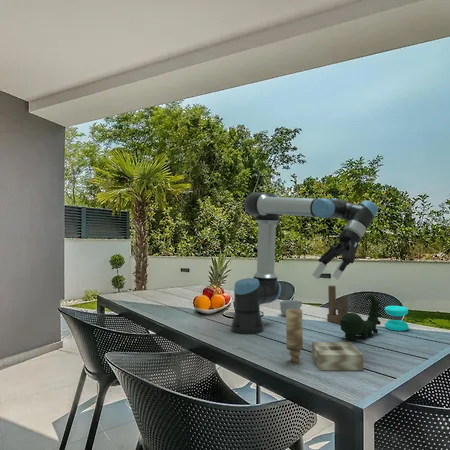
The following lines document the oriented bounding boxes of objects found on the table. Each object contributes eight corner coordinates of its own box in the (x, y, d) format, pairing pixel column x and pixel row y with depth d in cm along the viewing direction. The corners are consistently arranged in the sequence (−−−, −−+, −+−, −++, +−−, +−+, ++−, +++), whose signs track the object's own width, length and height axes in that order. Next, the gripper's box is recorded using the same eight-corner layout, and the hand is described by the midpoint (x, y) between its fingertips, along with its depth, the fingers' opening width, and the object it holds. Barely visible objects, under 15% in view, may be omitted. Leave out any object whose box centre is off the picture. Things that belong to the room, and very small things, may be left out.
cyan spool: (399, 304, 180) (412, 308, 170) (399, 325, 179) (413, 331, 170) (380, 305, 178) (392, 309, 168) (380, 326, 178) (393, 332, 168)
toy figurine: (367, 334, 171) (330, 338, 157) (368, 292, 172) (331, 293, 159) (386, 339, 163) (348, 344, 149) (387, 295, 164) (350, 296, 151)
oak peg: (287, 364, 129) (286, 311, 130) (285, 358, 135) (284, 308, 135) (304, 364, 129) (303, 311, 129) (301, 358, 135) (300, 308, 135)
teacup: (287, 318, 197) (286, 303, 197) (276, 314, 207) (276, 300, 207) (309, 316, 202) (308, 301, 203) (297, 312, 212) (297, 298, 212)
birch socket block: (320, 370, 123) (319, 354, 123) (312, 356, 137) (311, 342, 137) (363, 370, 123) (362, 354, 123) (350, 356, 137) (350, 342, 137)
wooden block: (343, 325, 181) (342, 288, 182) (327, 321, 191) (326, 285, 191) (348, 324, 183) (347, 287, 183) (332, 320, 192) (331, 285, 193)
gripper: (380, 237, 137) (351, 284, 131) (340, 242, 161) (314, 282, 155) (366, 224, 136) (336, 270, 130) (327, 231, 160) (301, 271, 154)
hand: (324, 277), depth 142 cm, fingers open, 13 cm apart
